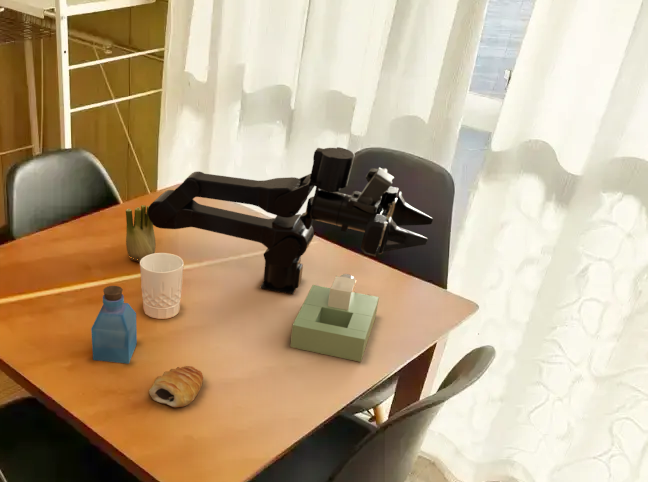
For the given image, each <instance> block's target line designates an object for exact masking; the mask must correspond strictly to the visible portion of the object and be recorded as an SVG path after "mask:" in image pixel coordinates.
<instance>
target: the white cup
mask: <svg viewBox="0 0 648 482" xmlns="http://www.w3.org/2000/svg"><path fill="white" fill-rule="evenodd" d="M184 265H185V264H184V260H183V258H182V257H181V256H179V255H177V254H173V253H169V252H155V253H154V254H150V255H147V256H145V257H143V258H142V259H141V260H140V262H139V270H140V272H139V273H140V287H141V297H142V298H141V299H142V308H143V309H142V311H143V313H144V314H145V315H146V316H148V317H150V318H153V319H156V320H157V319H158V320H168V319H170V318H174V317H176V316H177V315H178V314H179V312H180V309H181V299H182V291H183V277H184Z"/></svg>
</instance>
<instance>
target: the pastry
mask: <svg viewBox="0 0 648 482" xmlns="http://www.w3.org/2000/svg"><path fill="white" fill-rule="evenodd" d="M203 375H204V374H203V373H202V372H201V371H200V370H199V369H197V368H196V367H194V366H190V365H185V366H181V367H179V366H177V367H176V368H170V369H169V370H166V371H163V373H162V375H158V376H157V377H156V378H155V379H154V382H153V384H152V386H151V388H149V390H148V394H149V396H150V397H151V399H152V400H153V401H155V402H157V403H159V404H162V405H168V406H170V407H172V408H183V407H186V406H188V405H190V404H191V403H192V402H193V401H195V399H196V397H197V396H198V394H199V393H200V390H201V388H202V386H203V383H204V382H203V381H204V376H203Z"/></svg>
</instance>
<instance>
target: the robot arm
mask: <svg viewBox="0 0 648 482" xmlns="http://www.w3.org/2000/svg"><path fill="white" fill-rule="evenodd" d="M355 156H356V155H355V153H354V152H353V151H351V150H350V149H347V148H345V147H340V146H339V147H338V146H337V147H326V148H321V147H317V148H316V149H315V150H314V153H313V157H312V158H313V160H312V161H313V162H312V167H311V172H310V173H309V174H306V175H303V176H302V177H293V176H291V177H276V178H270V179H266V180H255V179H249V178H241V177H234V176H226V175H218V174H212V173H211V174H210V173H204V172H203V171H194V172H192V173H191V174H189V175H188V177H186V178H185V179H184V180H183V182H181V184H180V185H178V187H176V188H175V189H168V190H166V191H164V192H163V193H161V194H160V195H159V196H158V197H157V198H155V199H154V200H153V201H152V202H151V203H150V205H148V206H149V208H148V216H149V219H150V221H151V222H152V224H153V227H156V228H157V229H161V230H162V229H165V230H180V229H188V228H193V229H198V230H203V231H208V232H213V233H217V234H221V235H225V236H228V237H229V236H230V237H233V238H238V239H242V240H247V241H252V242H256V243H260V244H262V245H263V246H264V247H266V250H265V251H264V253H263V258H264V259H263V260H264V272H263V281H262V283H261V285H260V289H262V290H265V291H270V292H276V293H281V294H287V295H294V294H295V292H296V290H297V289H298V288H299V287H300V285H301V284H302V276H303V268H304V264H303V263H301V259H302V256H303V255H304V254H305V253H306V252H307V249H308V248H309V246H310V244H311V242H312V241H313V239H314V236H315V230H314V227H313V224H314V222H315V221H318V222H320V223H321V222H322V223H326V224H331V225H335V226H338V227H340V231H341V232H345V233H347V231H348V229H349V230H350V229H351V230H354V231H358V232H362V233H363V237H362V240H361V245H360V249H361V251H362V253H364V254H365V255H368V256H373V257H376V256H377V253H378V255H382V254H383V253H387V252H392V251H396V250H401V249H407V248H413V247H414V248H415V247H420V246H424V245H427V243H428V237H426V236H423V235H422V234H419V233H416V232H414V231H411V230H408V229H405V228H403V227H404V226H428V225H432V224H433V222H434V218H433V217H432V216H430V215H428V214H426V213H425V212H423V211H421V210H419V209H417V208H415V207H413V206H412V205H410V204H409V203H407V201H406V200H405V198H404V196H403V193H402V191H399V189H400V188H399V187H395V186H392V184H393V180H394V179H395V177H394V176H393V175H392V174H390V173H389V172H388V169H387V168H386V167H384V168H381V167H380V166H379V167H378V168H373V167H371V168H370V169H369V171H368V173H367V174H366V175H365V180H366V181H367V184H366V185H365V187H364V188H363V190H362V191H358V190H355V191H353V192H352V193H351V194H346V193H342V192H340V191H341V189H344V188H347V187H348V184H349V180H350V175H351V172H352V168H353V163H354V160H355ZM314 187H315V189H314ZM313 190H315V191H314V195H313V196H311V197H309V196H310V194H311V192H312V191H313ZM398 192H399V193H398ZM308 197H309V198H308ZM195 198H203V199H210V200H217V201H223V202H230V203H238V204H245V205H250V206H255V207H258V208H260V209H261V210H263V211H264V212H266V213H268V214H271V215H274V216H275V217H274V218H264V217H261V216H260V217H259V216H256V215H251V214H247V213H241V212H237V211H232V210H228V209H223V208H218V207H214V206H209V205H205V204H201V203H198V202H197V201H196V200H194V199H195ZM306 201H307V204H306V208H305V212H303V213H299V211H300V210H301V209H302V207H303V206H304V204H305V203H306ZM400 226H403V227H400ZM379 247H380V248H379Z"/></svg>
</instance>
